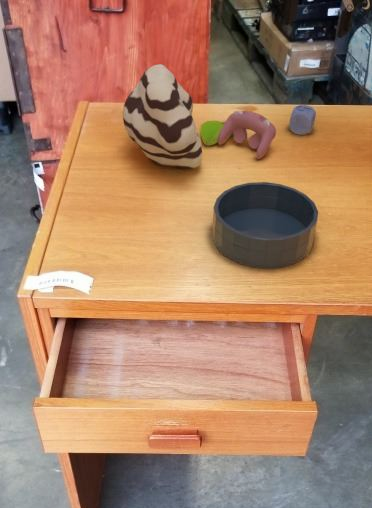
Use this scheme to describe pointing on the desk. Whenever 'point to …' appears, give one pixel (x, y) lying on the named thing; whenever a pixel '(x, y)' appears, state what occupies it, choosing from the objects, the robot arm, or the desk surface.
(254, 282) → the desk surface
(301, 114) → the decorative dice
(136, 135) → the sculpture
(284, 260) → the basin
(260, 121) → the video game controller
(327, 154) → the desk surface
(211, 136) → the decorative leaf
